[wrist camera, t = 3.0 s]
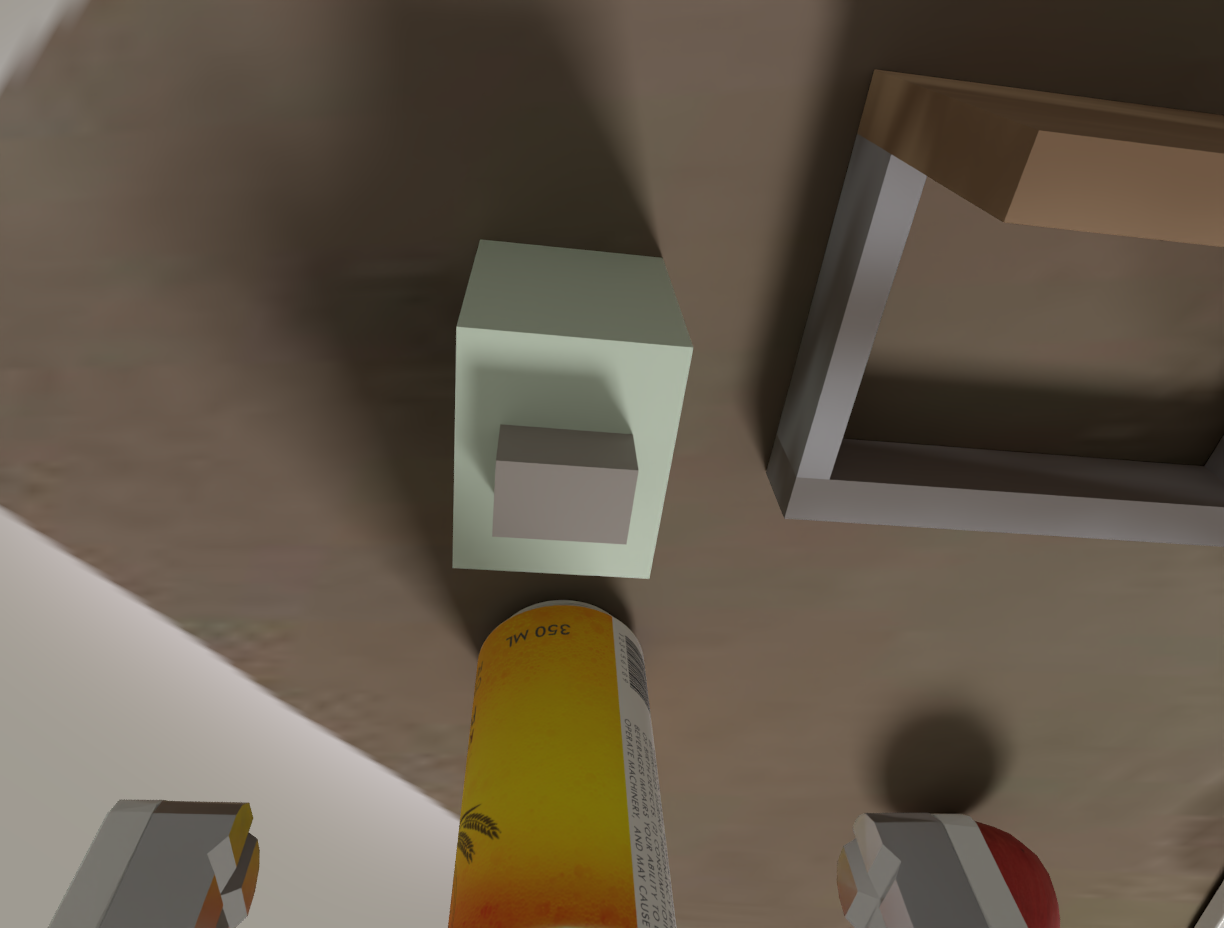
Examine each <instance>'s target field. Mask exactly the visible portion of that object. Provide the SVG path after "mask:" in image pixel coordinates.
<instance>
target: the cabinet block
mask: <svg viewBox="0 0 1224 928" xmlns="http://www.w3.org/2000/svg"><path fill="white" fill-rule="evenodd" d="M692 352H693V345H692V342H691V340H690V337H689V334H688V331H687V328H686V325H685V322H684V319H683V316H682V313H681V310H680V307H679V304H678V301H677V299H676V296H675V293H674V290H673V287H672V284H671V281H670V278H669V275H668V272H667V269H666V266H665V263H664V261H663V258H660V257H650V256H640V255H630V254H620V253H610V252H600V251H590V250H581V249H571V248H561V247H551V246H541V245H531V244H521V243H511V242H501V241H491V240H481V239H480V242H479V245H478V249H477V253H476V256H475V260H474V264H473V267H472V271H471V275H470V279H469V282H468V286H467V290H466V293H465V297H464V301H463V304H462V308H461V312H460V315H459V319H458V323H457V327H456V385H455V446H454V507H453V568H462V569H480V570H499V571H517V572H535V573H554V574H572V575H590V576H609V577H627V578H645V579H649V577H650V572H651V567H652V562H653V556H654V551H655V546H656V541H657V535H658V530H659V525H660V520H661V514H662V509H663V504H664V499H665V493H666V488H667V483H668V478H669V472H670V467H671V462H672V457H673V451H674V446H675V441H676V436H677V430H678V425H679V420H680V415H681V409H682V404H683V399H684V394H685V388H686V383H687V378H688V373H689V367H690V362H691V357H692Z"/></svg>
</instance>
